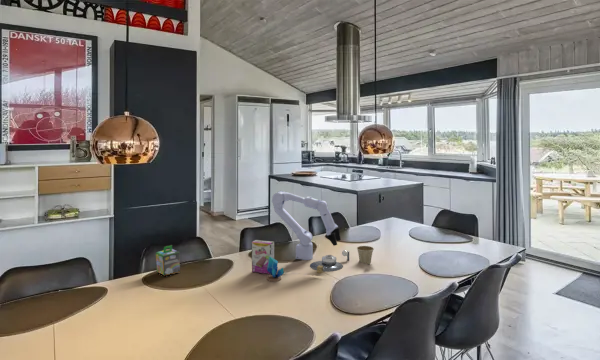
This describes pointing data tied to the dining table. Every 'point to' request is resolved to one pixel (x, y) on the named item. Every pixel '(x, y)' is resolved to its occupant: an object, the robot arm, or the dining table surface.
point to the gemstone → (274, 270)
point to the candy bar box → (261, 255)
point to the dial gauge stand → (346, 254)
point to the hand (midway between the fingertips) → (337, 242)
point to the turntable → (325, 267)
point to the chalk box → (167, 261)
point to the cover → (329, 260)
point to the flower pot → (365, 254)
